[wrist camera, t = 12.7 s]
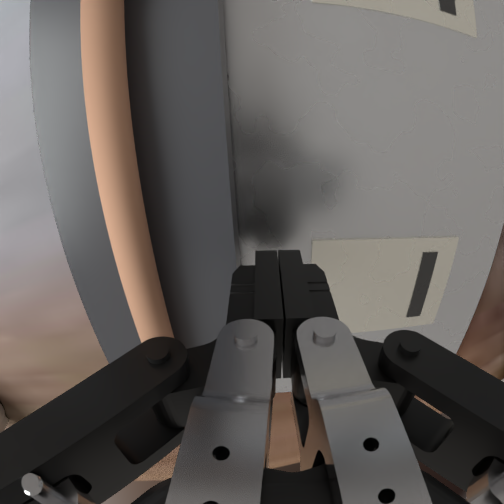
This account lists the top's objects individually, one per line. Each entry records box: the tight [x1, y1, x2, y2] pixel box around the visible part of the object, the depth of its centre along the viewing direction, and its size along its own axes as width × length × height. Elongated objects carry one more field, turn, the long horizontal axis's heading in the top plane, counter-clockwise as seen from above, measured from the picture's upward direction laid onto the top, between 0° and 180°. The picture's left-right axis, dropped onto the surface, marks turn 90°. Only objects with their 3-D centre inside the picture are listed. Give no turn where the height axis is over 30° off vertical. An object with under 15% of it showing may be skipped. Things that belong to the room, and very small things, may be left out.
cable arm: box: [29, 0, 241, 364], centre depth 8 cm, size 19×6×4 cm, turn 3°
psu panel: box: [223, 0, 504, 393], centre depth 11 cm, size 28×18×1 cm, turn 2°
